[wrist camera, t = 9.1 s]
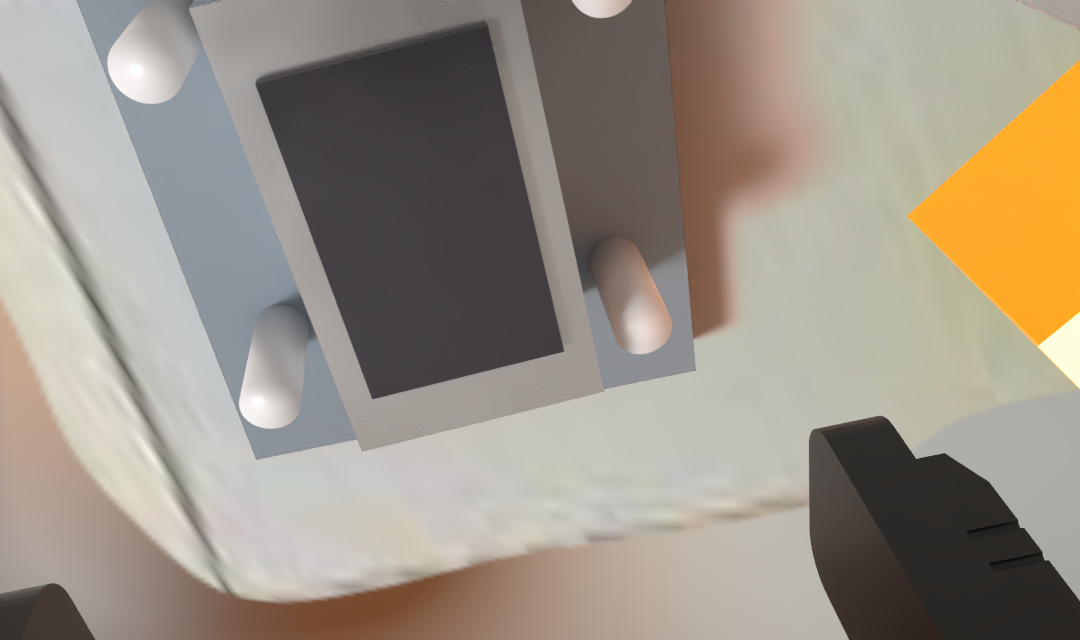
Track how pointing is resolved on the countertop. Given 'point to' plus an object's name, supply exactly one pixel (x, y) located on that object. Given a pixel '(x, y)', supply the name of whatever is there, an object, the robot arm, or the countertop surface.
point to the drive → (411, 202)
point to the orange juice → (1022, 222)
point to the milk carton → (1058, 10)
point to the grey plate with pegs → (257, 255)
